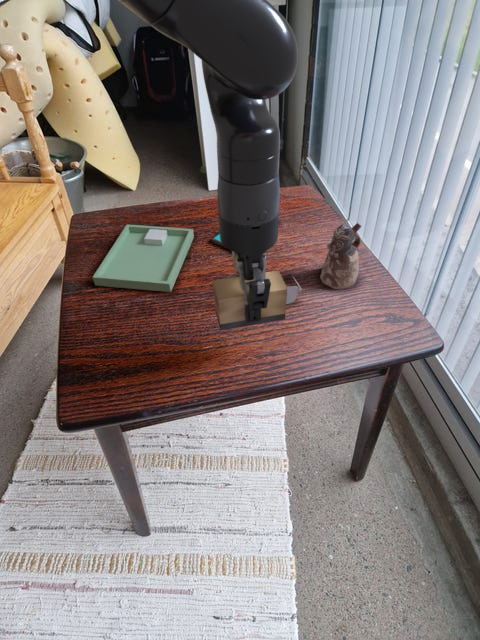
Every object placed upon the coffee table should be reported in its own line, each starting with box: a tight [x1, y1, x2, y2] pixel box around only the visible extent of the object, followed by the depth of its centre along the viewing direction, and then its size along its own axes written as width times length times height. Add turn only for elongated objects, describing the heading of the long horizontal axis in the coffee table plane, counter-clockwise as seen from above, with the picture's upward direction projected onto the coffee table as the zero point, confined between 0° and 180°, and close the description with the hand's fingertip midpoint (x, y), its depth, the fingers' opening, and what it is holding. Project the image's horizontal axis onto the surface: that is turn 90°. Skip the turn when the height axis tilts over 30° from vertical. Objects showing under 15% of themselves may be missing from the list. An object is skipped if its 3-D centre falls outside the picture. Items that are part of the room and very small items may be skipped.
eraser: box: [212, 270, 288, 331], centre depth 62 cm, size 10×4×6 cm, turn 102°
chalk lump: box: [144, 229, 168, 246], centre depth 93 cm, size 4×4×2 cm
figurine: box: [319, 222, 362, 290], centre depth 80 cm, size 7×7×12 cm
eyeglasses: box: [286, 273, 302, 305], centre depth 80 cm, size 14×8×4 cm, turn 102°
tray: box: [92, 224, 195, 293], centre depth 89 cm, size 16×20×2 cm
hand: (249, 308), depth 64 cm, fingers closed on eraser, 4 cm apart
